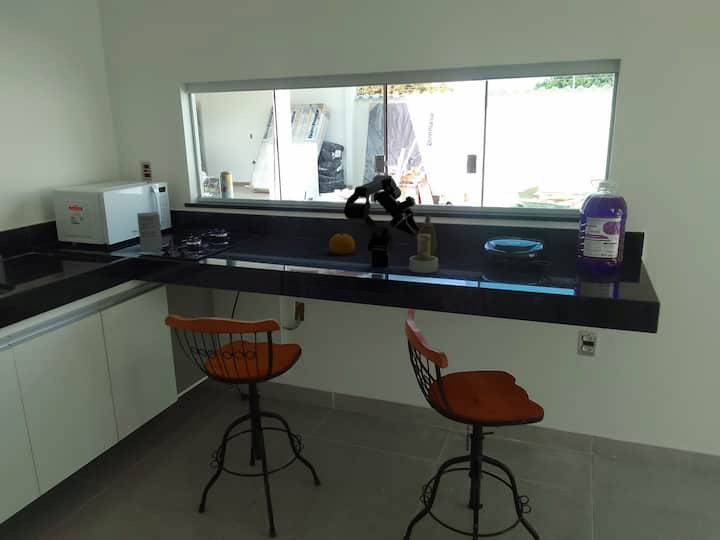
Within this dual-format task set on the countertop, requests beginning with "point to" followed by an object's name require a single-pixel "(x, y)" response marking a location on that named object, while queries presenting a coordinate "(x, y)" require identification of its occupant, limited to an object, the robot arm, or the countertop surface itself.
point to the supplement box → (149, 231)
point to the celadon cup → (423, 265)
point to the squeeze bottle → (429, 230)
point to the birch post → (423, 247)
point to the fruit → (341, 244)
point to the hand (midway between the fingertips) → (416, 232)
